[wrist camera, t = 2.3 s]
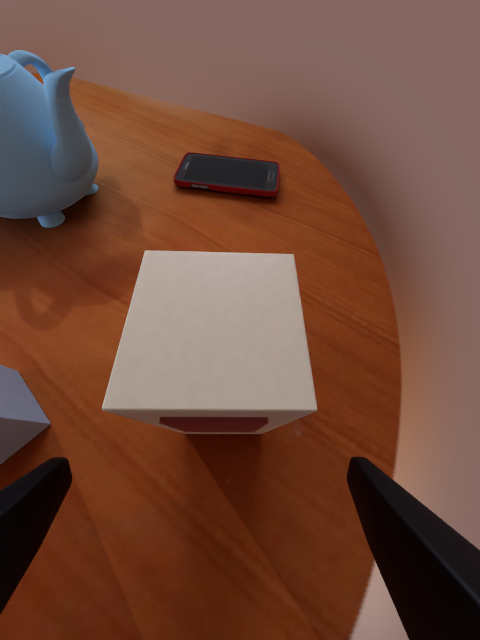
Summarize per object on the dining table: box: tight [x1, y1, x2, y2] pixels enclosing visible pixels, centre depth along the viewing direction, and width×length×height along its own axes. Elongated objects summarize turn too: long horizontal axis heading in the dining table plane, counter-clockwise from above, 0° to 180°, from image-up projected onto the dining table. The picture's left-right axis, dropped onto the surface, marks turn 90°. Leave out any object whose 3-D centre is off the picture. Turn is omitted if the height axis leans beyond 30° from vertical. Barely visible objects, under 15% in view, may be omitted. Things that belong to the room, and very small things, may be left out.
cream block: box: [102, 250, 317, 434], centre depth 13 cm, size 6×6×13 cm
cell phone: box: [174, 153, 280, 197], centre depth 34 cm, size 8×15×1 cm, turn 82°
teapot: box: [0, 50, 98, 228], centre depth 25 cm, size 16×20×14 cm
